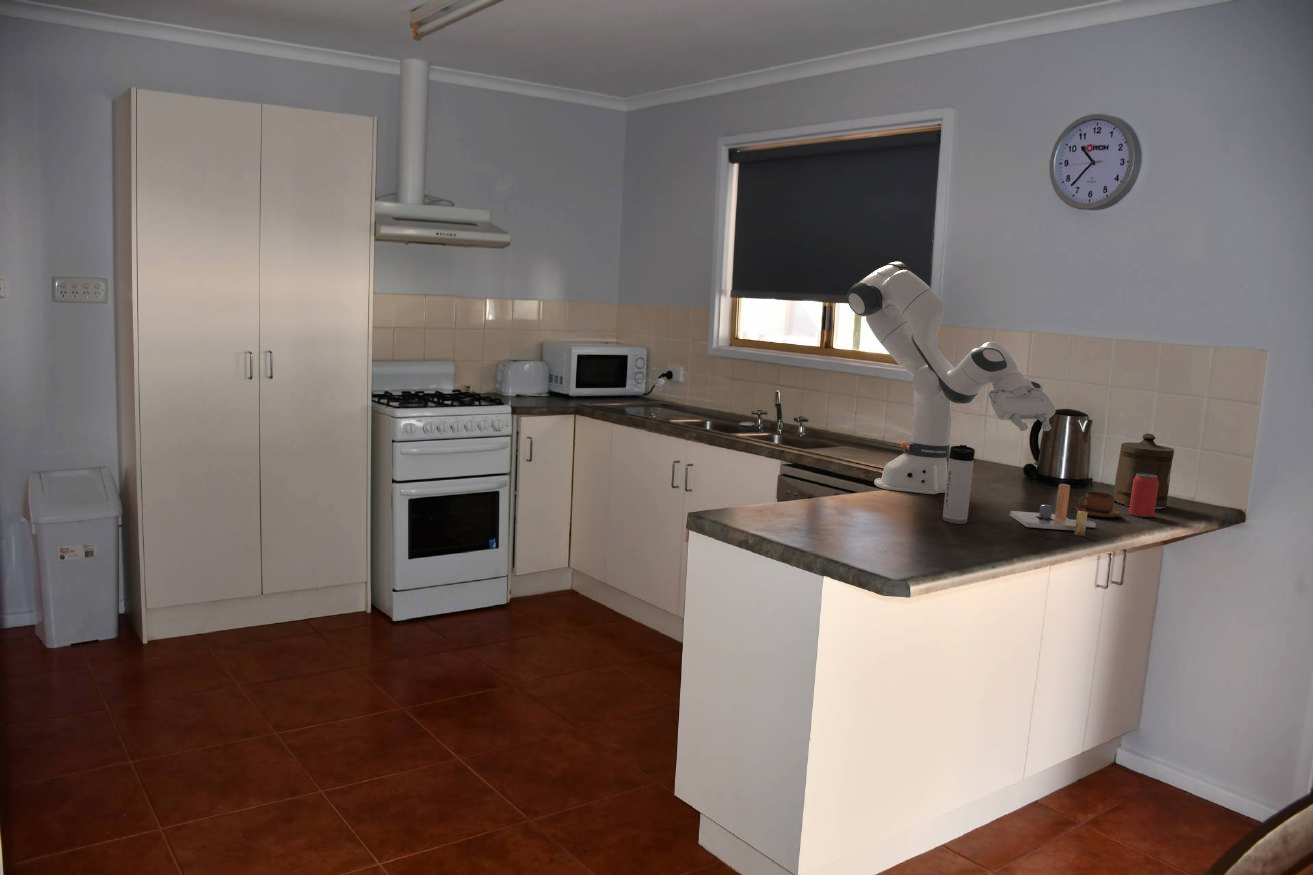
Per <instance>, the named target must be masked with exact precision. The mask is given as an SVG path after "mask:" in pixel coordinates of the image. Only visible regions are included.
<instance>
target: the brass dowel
mask: <svg viewBox="0 0 1313 875" xmlns="http://www.w3.org/2000/svg"><path fill="white" fill-rule="evenodd" d="M1087 514H1088V513H1087V512H1084V511H1078V510H1077V512H1076V519H1075V520H1076V527H1075V531H1074V535H1076V536H1080V537H1085V534H1086V528H1087V527H1086V521H1088V515H1087Z"/></svg>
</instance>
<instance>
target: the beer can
mask: <svg viewBox="0 0 1313 875" xmlns="http://www.w3.org/2000/svg"><path fill="white" fill-rule="evenodd" d="M1157 477H1158V476H1156V475H1152V474H1146V473H1137V474H1136V476H1135V478H1134V480H1133V486H1132V493H1131V501H1130V507H1129V509H1128V513H1129V515H1131V516H1133V515H1135V516H1134V517H1137V516H1139V517H1138V518H1143V517H1151V518H1153V517H1154V516H1155V511H1156V510H1155V506H1156V499H1157V492H1158V485H1159V483H1158V479H1157Z"/></svg>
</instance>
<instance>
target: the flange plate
mask: <svg viewBox="0 0 1313 875" xmlns="http://www.w3.org/2000/svg"><path fill="white" fill-rule="evenodd" d="M1057 490H1058V491H1057V496H1056V498H1057V499H1056V506H1055V512H1054V513H1052V514H1051V520H1040V519H1039V512H1031V511H1030V512H1028V511H1017V510H1010V511H1009V512H1010V513H1009V516H1010V517H1011V518H1012V519H1014V520H1016V521H1017V522H1019V523H1020V524H1021V525H1023V526H1024V527H1026V528H1033V529H1034V528H1036V529H1048V530H1049V529H1050V530H1063V531H1064V530H1065V531H1074V532H1075V527H1076V519H1069V517H1067V516H1068V515H1067V514H1068V506H1069V498H1070V490H1071V485H1070V484H1067V483H1060V484H1058V489H1057ZM1096 524H1097V523H1096V522H1094V521H1093V520H1087V521H1086V528H1096V527H1097V526H1096Z"/></svg>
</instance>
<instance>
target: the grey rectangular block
mask: <svg viewBox="0 0 1313 875" xmlns="http://www.w3.org/2000/svg"><path fill="white" fill-rule="evenodd" d="M1038 513H1039V519H1040V520H1051V514H1053V505H1049V504H1040V505H1039V512H1038Z"/></svg>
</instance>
